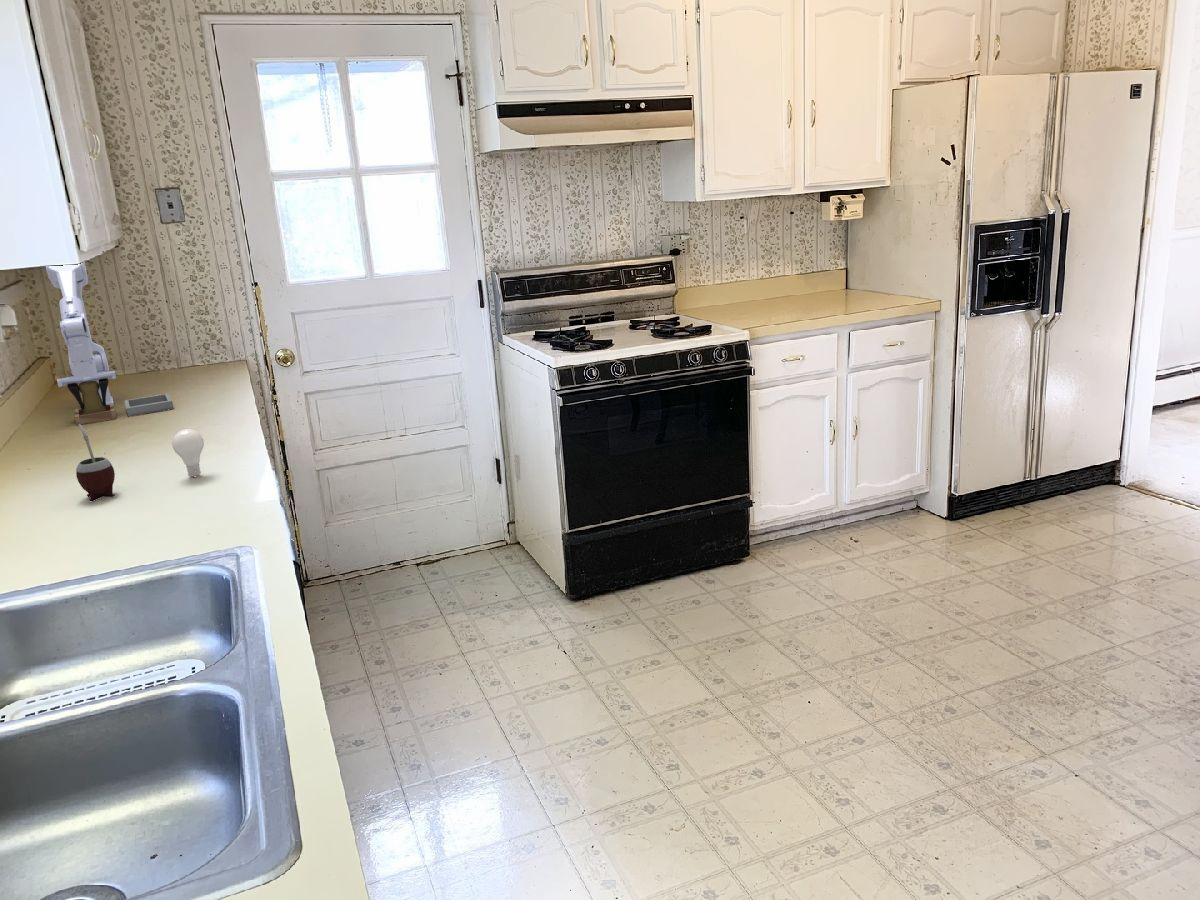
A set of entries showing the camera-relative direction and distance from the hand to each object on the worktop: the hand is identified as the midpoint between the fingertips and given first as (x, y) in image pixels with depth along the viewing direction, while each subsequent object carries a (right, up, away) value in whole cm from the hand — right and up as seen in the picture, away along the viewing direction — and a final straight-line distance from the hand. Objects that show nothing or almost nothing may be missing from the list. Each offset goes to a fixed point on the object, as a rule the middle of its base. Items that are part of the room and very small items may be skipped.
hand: (93, 406), depth 259 cm
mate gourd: (+38, -22, -65) cm, 78 cm away
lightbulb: (+54, -18, -56) cm, 80 cm away
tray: (+12, 0, +8) cm, 14 cm away
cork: (0, -3, +1) cm, 4 cm away
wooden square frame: (0, -3, +1) cm, 3 cm away
